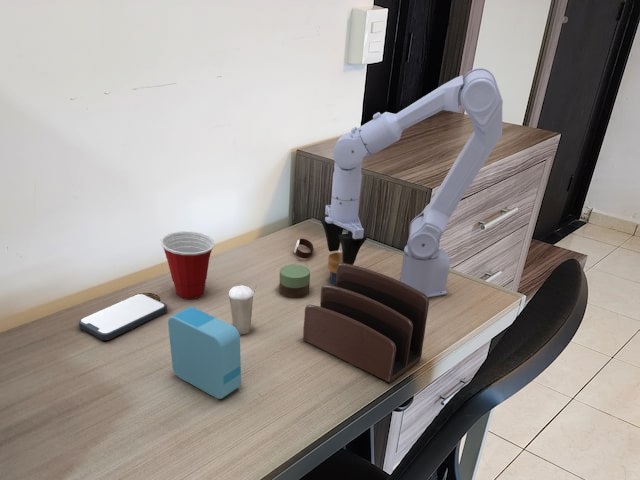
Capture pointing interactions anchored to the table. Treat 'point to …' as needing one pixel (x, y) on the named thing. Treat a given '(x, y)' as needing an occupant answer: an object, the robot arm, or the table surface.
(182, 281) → the plastic cup
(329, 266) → the orange short cylinder
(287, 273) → the sage chip
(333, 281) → the small cup
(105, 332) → the smartphone
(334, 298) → the letter holder
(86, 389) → the table surface
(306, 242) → the watch
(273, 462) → the table surface
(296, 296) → the walnut chip
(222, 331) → the data package
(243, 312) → the milkshake
